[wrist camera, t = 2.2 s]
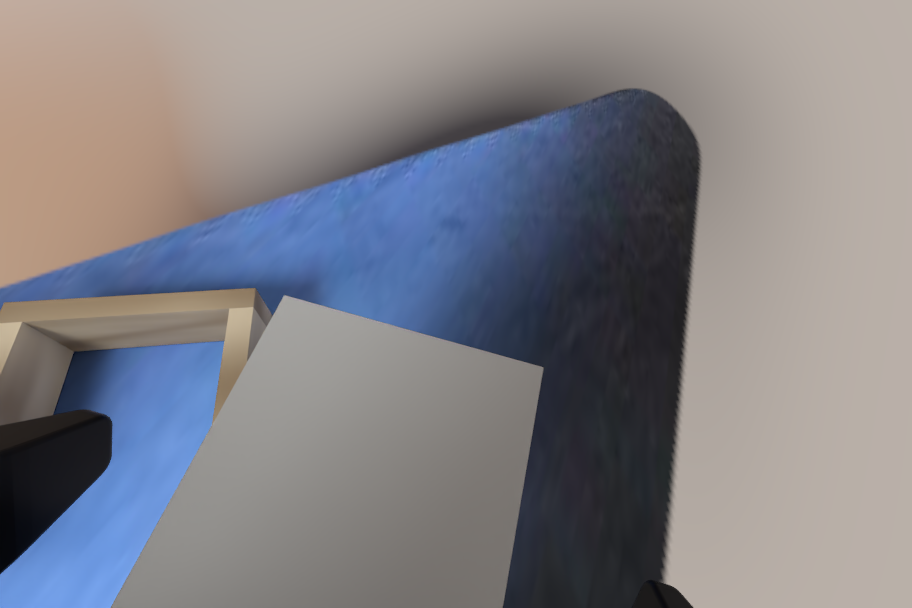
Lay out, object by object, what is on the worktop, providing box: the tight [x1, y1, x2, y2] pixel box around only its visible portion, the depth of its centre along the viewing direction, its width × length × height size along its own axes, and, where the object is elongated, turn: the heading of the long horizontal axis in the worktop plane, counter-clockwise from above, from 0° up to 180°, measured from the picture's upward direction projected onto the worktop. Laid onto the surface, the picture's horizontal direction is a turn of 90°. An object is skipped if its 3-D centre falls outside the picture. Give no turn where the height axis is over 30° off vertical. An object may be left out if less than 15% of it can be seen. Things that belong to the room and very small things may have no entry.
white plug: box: [111, 295, 544, 608], centre depth 10 cm, size 4×4×10 cm
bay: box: [0, 288, 272, 425], centre depth 14 cm, size 8×8×2 cm
